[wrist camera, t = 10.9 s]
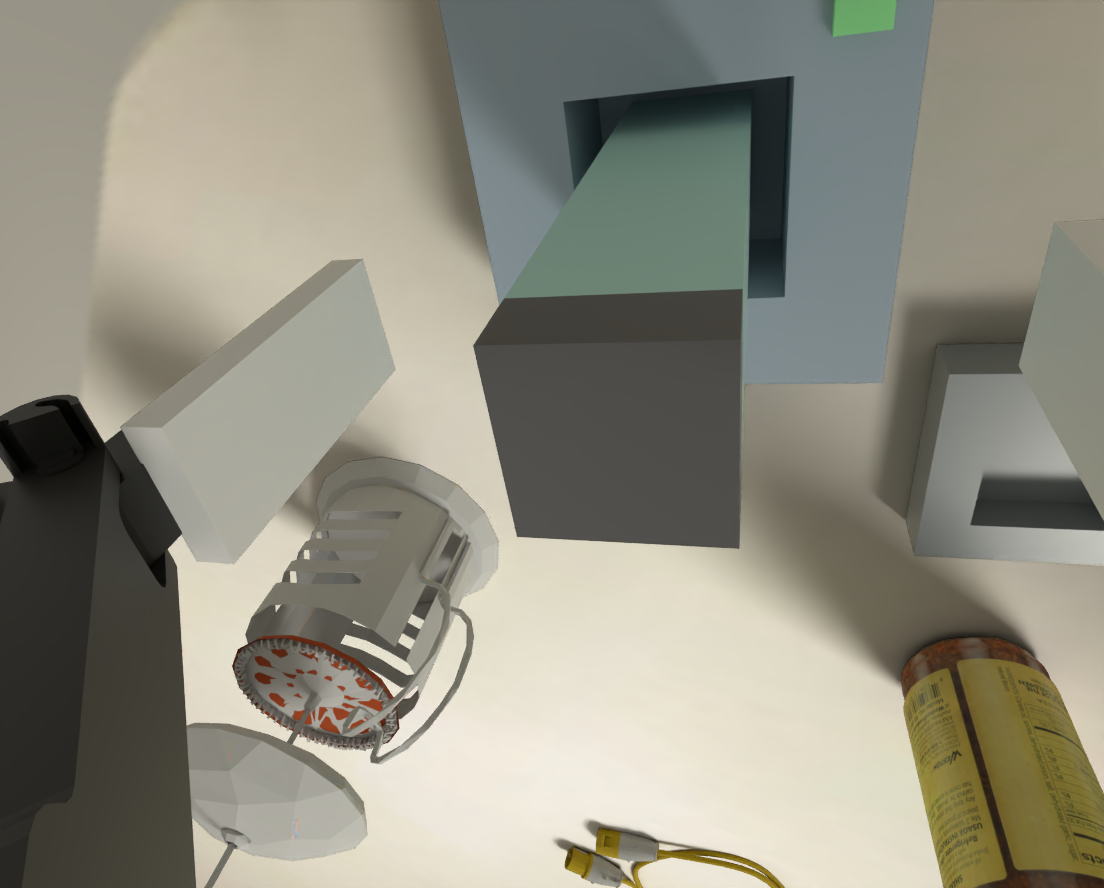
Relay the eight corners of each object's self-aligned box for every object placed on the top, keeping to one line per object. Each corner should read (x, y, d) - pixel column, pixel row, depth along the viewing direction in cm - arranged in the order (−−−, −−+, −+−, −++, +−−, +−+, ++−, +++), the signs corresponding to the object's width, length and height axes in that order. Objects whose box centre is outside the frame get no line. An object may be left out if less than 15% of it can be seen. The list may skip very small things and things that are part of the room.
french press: (278, 487, 37) (-270, 1149, 17) (459, 420, 31) (-34, 1266, 12) (390, 614, 41) (52, 1262, 21) (565, 575, 36) (330, 1384, 16)
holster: (1139, 530, 27) (1162, 568, 25) (905, 520, 29) (913, 555, 28) (1221, 339, 22) (1255, 372, 21) (937, 344, 25) (949, 374, 23)
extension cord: (674, 795, 46) (671, 826, 45) (831, 908, 50) (833, 941, 49) (552, 835, 53) (546, 863, 52) (699, 931, 57) (697, 960, 56)
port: (862, 306, 24) (884, 390, 20) (550, 316, 27) (512, 391, 23) (906, -94, 18) (951, -94, 14) (496, -26, 21) (430, -9, 17)
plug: (750, 208, 23) (739, 548, 11) (640, 216, 24) (516, 536, 12) (752, 88, 21) (740, 340, 9) (632, 102, 22) (472, 345, 10)
